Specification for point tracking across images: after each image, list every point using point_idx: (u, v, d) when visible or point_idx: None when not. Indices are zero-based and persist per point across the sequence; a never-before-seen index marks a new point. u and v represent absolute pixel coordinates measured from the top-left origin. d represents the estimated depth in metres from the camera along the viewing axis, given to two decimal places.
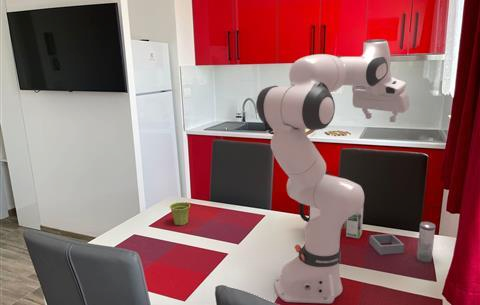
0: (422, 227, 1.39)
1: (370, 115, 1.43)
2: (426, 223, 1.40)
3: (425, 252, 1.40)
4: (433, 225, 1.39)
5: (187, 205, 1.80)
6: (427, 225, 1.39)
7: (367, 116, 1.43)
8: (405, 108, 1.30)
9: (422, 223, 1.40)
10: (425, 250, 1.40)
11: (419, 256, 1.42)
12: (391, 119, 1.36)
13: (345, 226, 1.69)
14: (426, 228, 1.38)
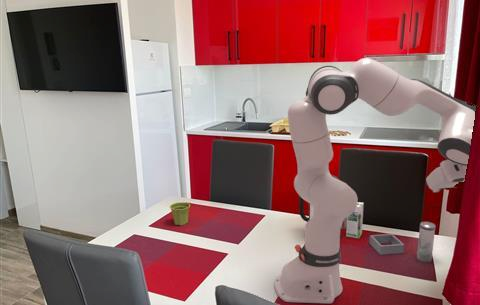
0: (422, 227, 1.39)
1: None
2: (426, 223, 1.40)
3: (425, 252, 1.40)
4: (433, 225, 1.39)
5: (187, 205, 1.80)
6: (427, 225, 1.39)
7: None
8: (427, 179, 1.18)
9: (422, 223, 1.40)
10: (425, 250, 1.40)
11: (419, 256, 1.42)
12: None
13: (345, 226, 1.69)
14: (426, 228, 1.38)
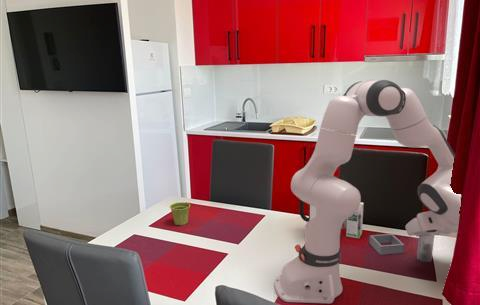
0: None
1: None
2: None
3: (425, 252, 1.40)
4: None
5: (187, 205, 1.80)
6: None
7: None
8: (406, 226, 1.35)
9: None
10: (425, 250, 1.40)
11: (419, 256, 1.42)
12: None
13: (345, 226, 1.69)
14: None
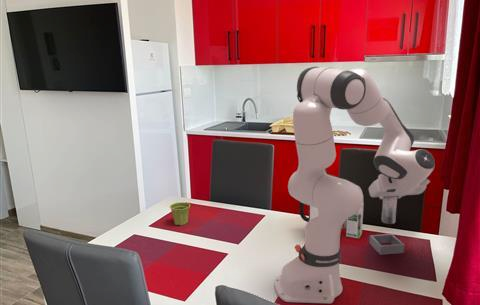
0: None
1: (396, 195, 1.46)
2: None
3: (388, 214, 1.46)
4: None
5: (187, 205, 1.80)
6: None
7: None
8: (369, 188, 1.41)
9: None
10: (388, 212, 1.45)
11: (383, 218, 1.48)
12: None
13: (345, 226, 1.69)
14: None
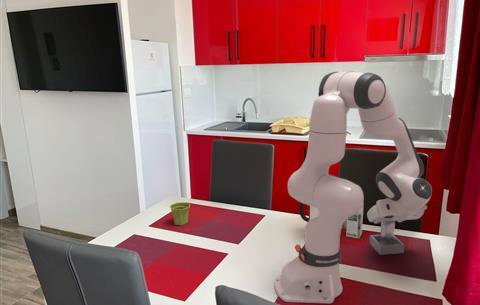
0: None
1: (398, 219, 1.49)
2: None
3: (386, 242, 1.48)
4: None
5: (187, 205, 1.80)
6: None
7: None
8: (367, 213, 1.44)
9: None
10: (386, 239, 1.48)
11: None
12: None
13: (345, 226, 1.69)
14: None
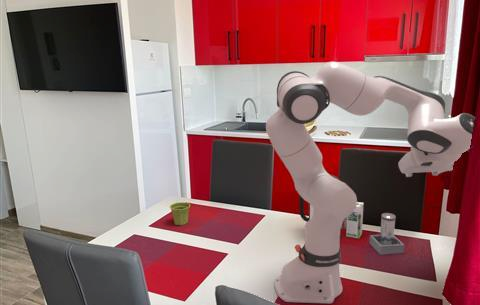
0: (383, 218, 1.47)
1: (433, 172, 1.28)
2: (387, 214, 1.49)
3: (386, 242, 1.48)
4: (393, 216, 1.47)
5: (187, 205, 1.80)
6: (388, 216, 1.47)
7: None
8: (399, 163, 1.23)
9: (383, 214, 1.49)
10: (386, 239, 1.48)
11: None
12: None
13: (345, 226, 1.69)
14: (387, 219, 1.46)
